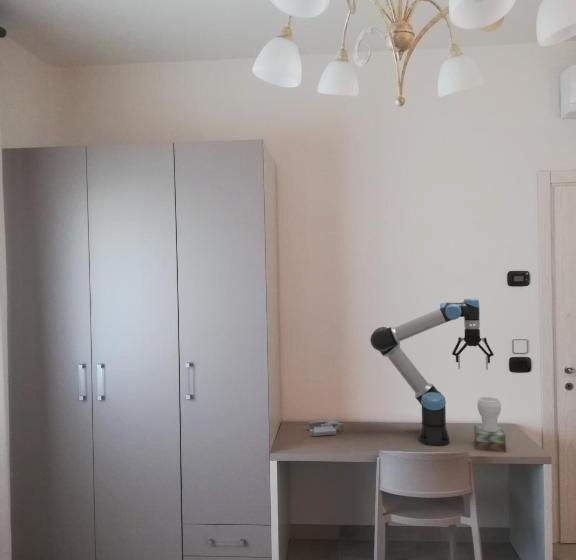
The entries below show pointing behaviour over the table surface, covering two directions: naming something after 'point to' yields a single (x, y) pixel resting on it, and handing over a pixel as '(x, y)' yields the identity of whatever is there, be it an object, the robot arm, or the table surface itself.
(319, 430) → the spaceship toy
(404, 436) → the table surface
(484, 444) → the tower base
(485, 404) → the cup
